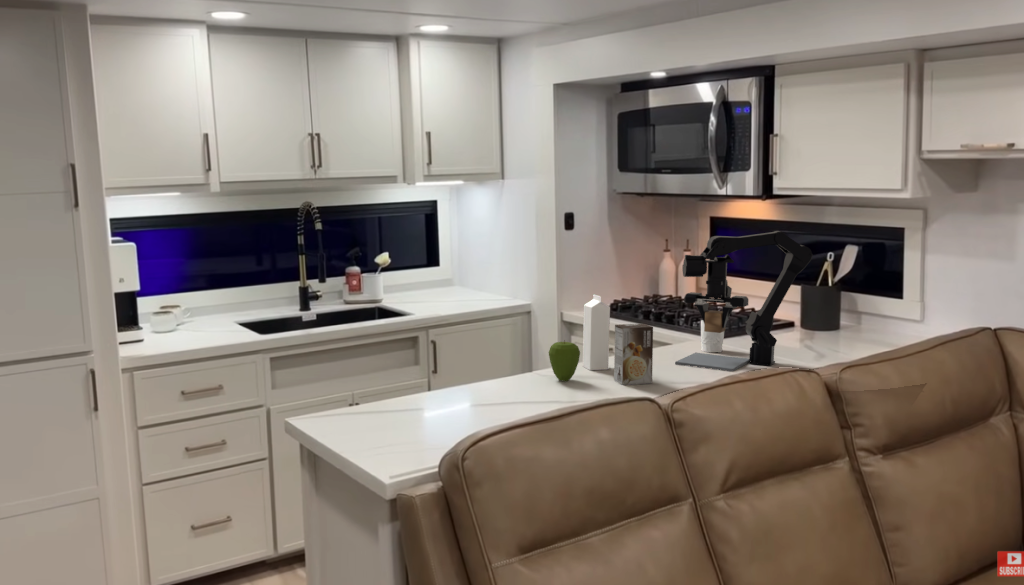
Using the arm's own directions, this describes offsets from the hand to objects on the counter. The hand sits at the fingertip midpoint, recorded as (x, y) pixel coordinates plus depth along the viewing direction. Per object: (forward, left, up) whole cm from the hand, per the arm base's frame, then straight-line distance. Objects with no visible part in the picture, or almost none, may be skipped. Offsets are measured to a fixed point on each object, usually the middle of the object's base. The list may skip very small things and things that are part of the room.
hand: (715, 327), depth 271 cm
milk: (+27, +28, -11) cm, 41 cm away
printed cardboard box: (+10, +39, -12) cm, 42 cm away
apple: (+27, +48, -11) cm, 56 cm away
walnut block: (0, 0, -1) cm, 1 cm away
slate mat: (0, 0, -11) cm, 11 cm away
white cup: (+7, -19, -12) cm, 23 cm away
